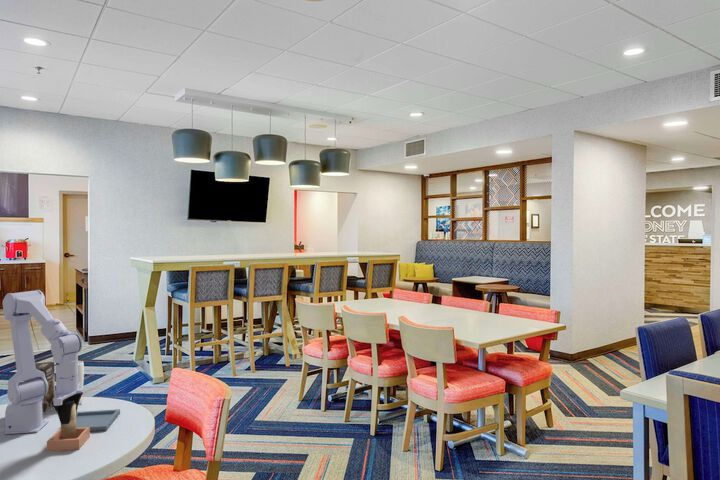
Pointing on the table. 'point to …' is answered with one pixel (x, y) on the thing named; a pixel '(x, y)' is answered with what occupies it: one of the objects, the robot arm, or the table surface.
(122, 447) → the table surface
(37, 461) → the table surface
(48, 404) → the coffee box
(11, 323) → the robot arm
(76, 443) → the hollow square frame
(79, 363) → the white cylindrical piece
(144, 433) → the table surface
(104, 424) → the slate tray
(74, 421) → the maple peg
